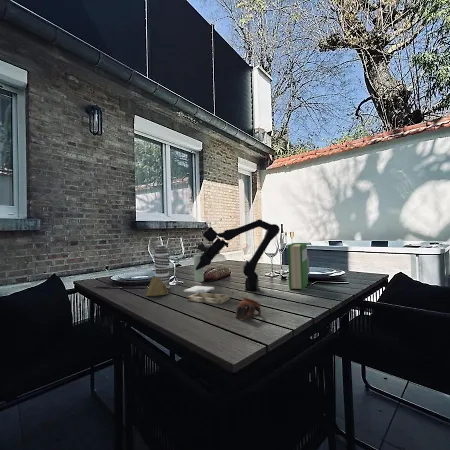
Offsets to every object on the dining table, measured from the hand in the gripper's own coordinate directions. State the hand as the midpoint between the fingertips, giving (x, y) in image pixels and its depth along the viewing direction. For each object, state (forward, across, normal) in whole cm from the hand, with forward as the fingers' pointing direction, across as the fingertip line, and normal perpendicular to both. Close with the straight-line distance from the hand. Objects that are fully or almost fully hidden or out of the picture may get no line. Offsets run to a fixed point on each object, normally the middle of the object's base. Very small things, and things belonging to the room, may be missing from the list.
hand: (196, 269), depth 158 cm
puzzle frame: (+3, +21, +14) cm, 26 cm away
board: (+8, 0, +10) cm, 12 cm away
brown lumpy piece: (-8, +47, +26) cm, 54 cm away
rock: (+23, +5, -6) cm, 24 cm away
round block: (+4, 0, +6) cm, 7 cm away
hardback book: (-31, -3, +49) cm, 58 cm away
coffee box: (-38, -26, +56) cm, 72 cm away
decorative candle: (+24, -13, -6) cm, 28 cm away
